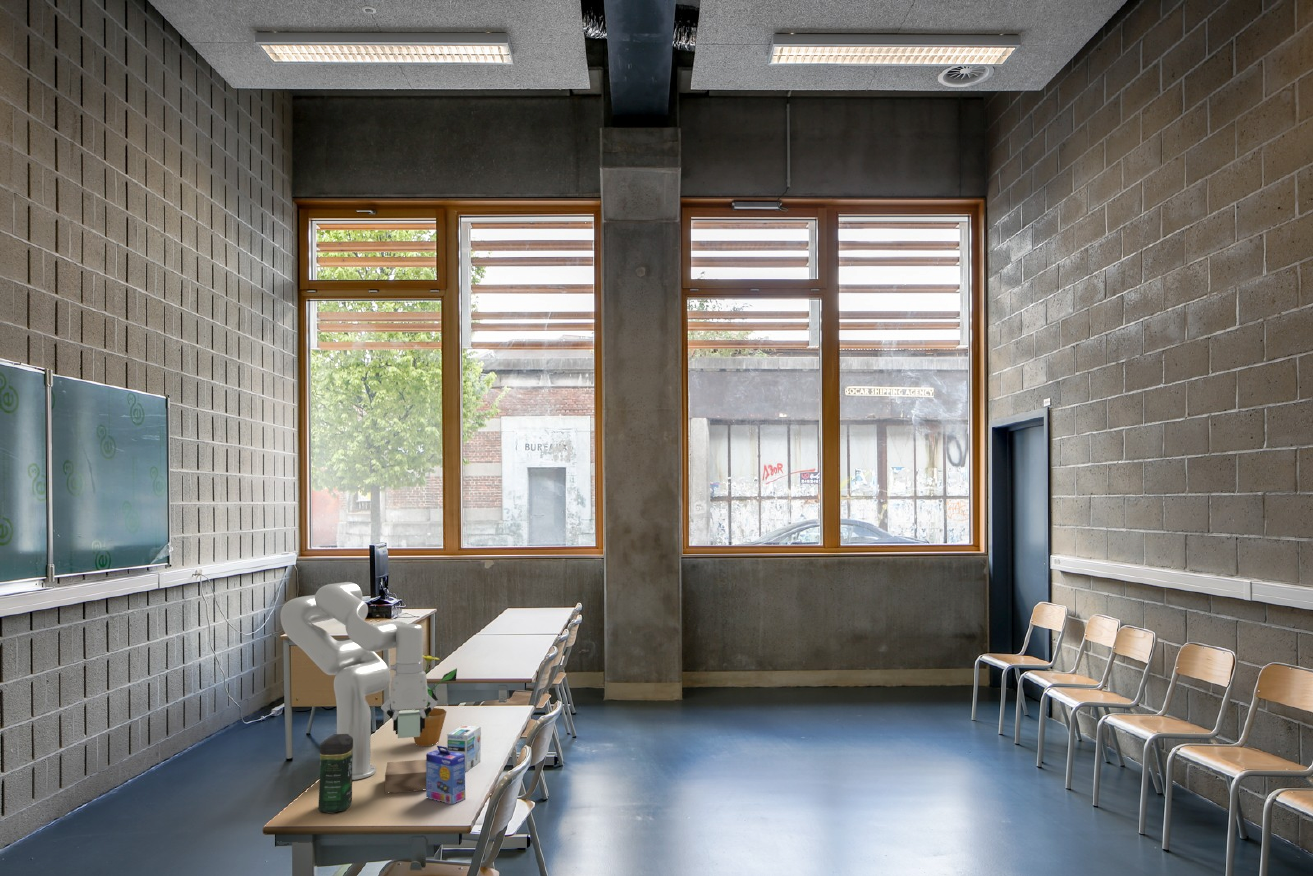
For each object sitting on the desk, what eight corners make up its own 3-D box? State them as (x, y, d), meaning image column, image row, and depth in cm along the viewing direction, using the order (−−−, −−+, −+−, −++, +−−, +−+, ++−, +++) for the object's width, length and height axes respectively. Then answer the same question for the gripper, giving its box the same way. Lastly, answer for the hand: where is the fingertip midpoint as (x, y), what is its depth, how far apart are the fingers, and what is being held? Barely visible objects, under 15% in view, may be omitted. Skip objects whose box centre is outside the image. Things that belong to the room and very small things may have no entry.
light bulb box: (467, 772, 268) (467, 735, 269) (446, 771, 269) (446, 734, 270) (481, 761, 278) (481, 726, 279) (460, 760, 280) (461, 724, 280)
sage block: (397, 738, 254) (397, 716, 254) (398, 732, 259) (398, 711, 260) (419, 736, 255) (419, 715, 255) (420, 731, 261) (420, 710, 261)
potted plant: (448, 751, 289) (449, 656, 291) (390, 751, 290) (392, 656, 291) (462, 735, 307) (462, 646, 309) (407, 735, 308) (408, 646, 309)
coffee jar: (346, 813, 234) (347, 741, 235) (315, 814, 234) (316, 741, 235) (355, 800, 244) (356, 731, 245) (325, 801, 243) (326, 731, 244)
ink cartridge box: (424, 799, 245) (425, 744, 246) (439, 793, 250) (439, 739, 251) (451, 805, 240) (452, 750, 241) (466, 799, 245) (466, 744, 246)
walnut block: (384, 793, 249) (385, 775, 250) (387, 780, 261) (387, 762, 261) (429, 790, 252) (429, 771, 252) (429, 776, 264) (430, 759, 264)
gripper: (377, 672, 253) (376, 738, 252) (440, 669, 257) (440, 733, 256) (378, 667, 260) (378, 731, 259) (440, 664, 264) (440, 726, 263)
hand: (409, 731), depth 257 cm, fingers closed on sage block, 6 cm apart
